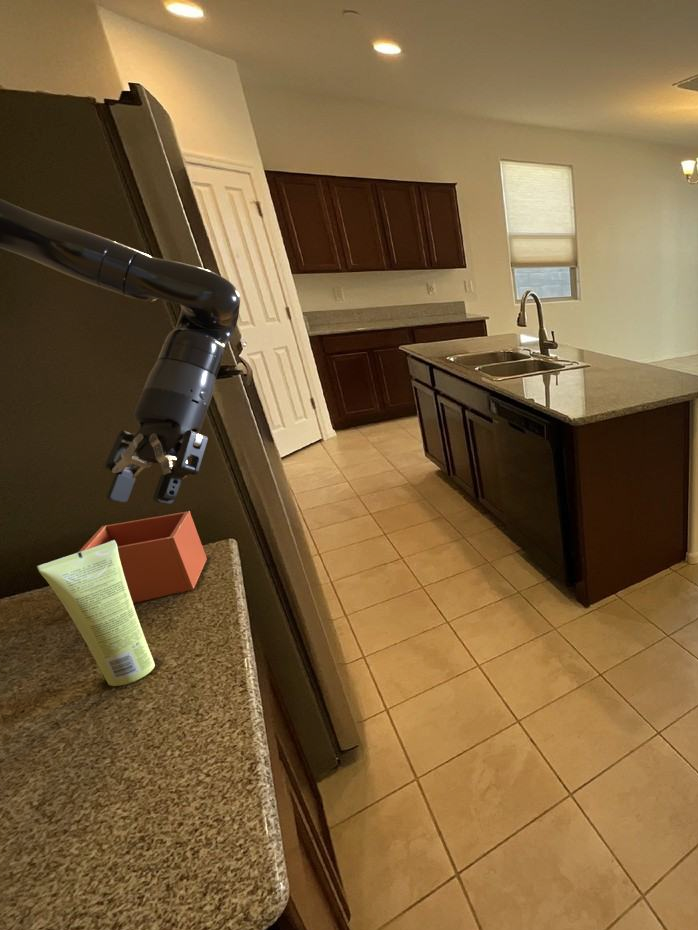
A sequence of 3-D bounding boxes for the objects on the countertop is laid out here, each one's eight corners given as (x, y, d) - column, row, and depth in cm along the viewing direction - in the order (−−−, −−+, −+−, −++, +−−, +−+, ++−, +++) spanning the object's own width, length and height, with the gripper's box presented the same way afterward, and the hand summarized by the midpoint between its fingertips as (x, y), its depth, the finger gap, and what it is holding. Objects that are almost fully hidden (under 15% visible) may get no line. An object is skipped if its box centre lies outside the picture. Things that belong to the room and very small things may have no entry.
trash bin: (100, 612, 87) (74, 556, 83) (124, 578, 97) (101, 526, 93) (194, 591, 92) (173, 537, 88) (207, 560, 102) (189, 510, 98)
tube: (123, 665, 75) (66, 545, 67) (166, 657, 76) (115, 538, 69) (99, 693, 70) (35, 566, 62) (146, 683, 71) (88, 559, 64)
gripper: (112, 387, 76) (69, 493, 71) (188, 384, 73) (148, 495, 68) (167, 408, 83) (130, 507, 78) (238, 407, 80) (205, 509, 75)
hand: (139, 501), depth 73 cm, fingers open, 8 cm apart
